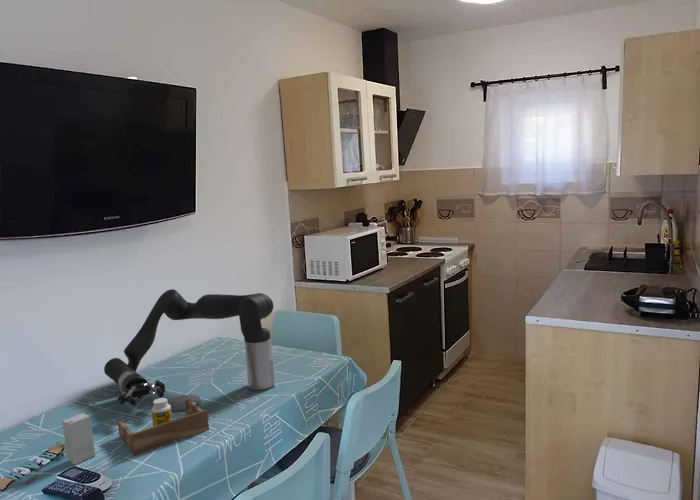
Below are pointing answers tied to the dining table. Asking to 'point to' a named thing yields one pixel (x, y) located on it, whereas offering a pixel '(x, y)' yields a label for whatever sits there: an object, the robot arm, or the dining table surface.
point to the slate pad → (182, 402)
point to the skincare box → (78, 438)
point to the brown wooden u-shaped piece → (165, 430)
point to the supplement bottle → (161, 412)
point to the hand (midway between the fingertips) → (148, 398)
